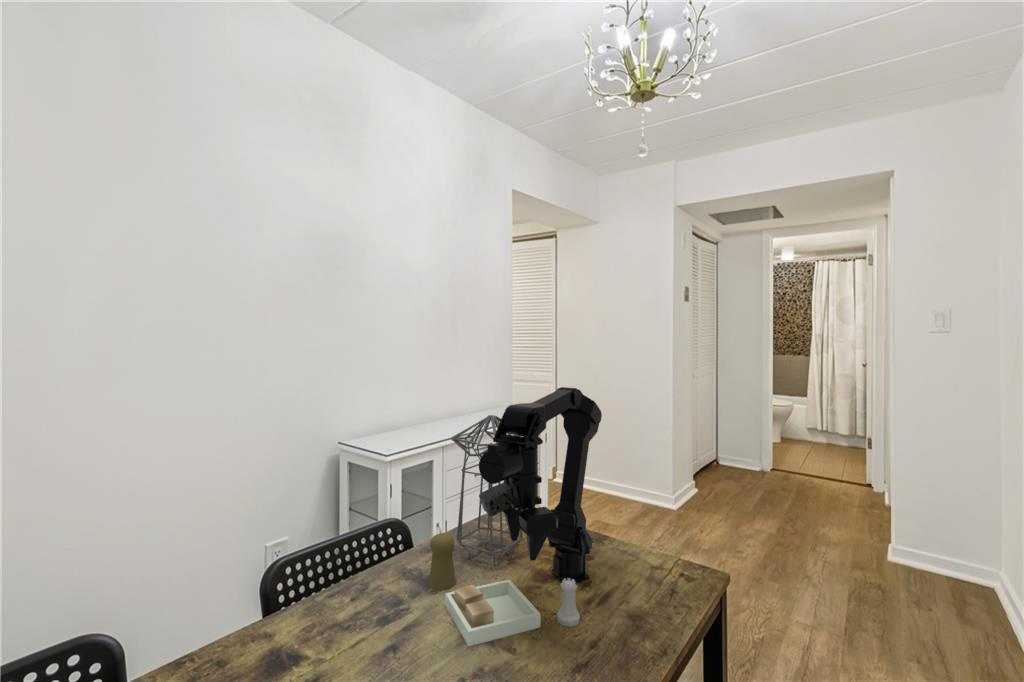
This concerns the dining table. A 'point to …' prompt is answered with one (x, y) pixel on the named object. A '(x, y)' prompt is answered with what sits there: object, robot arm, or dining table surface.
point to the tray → (497, 613)
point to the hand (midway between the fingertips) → (523, 549)
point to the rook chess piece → (568, 604)
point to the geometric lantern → (456, 439)
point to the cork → (442, 562)
